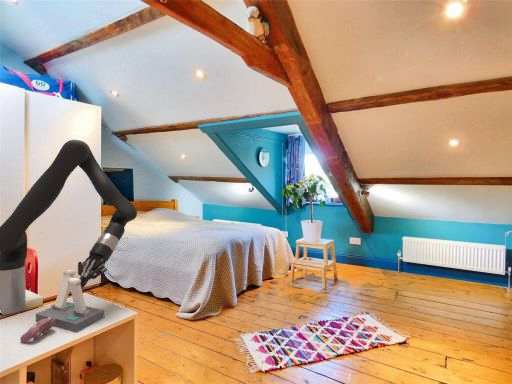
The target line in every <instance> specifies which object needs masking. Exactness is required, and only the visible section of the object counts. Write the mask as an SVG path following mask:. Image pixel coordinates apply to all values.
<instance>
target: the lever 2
mask: <svg viewBox="0 0 512 384" xmlns="http://www.w3.org/2000/svg"><path fill="white" fill-rule="evenodd" d="M80 283H81V280H80V278H77V277H73V278H72V277H71V278H69V279H68V284H69V285H70V293H71V297H72V301H73V302H72V303H74V306H75V310H76V313H80V314H84V312H86V311H87V310H86V306H87V305H86V302H85V297H84V294H83V290H82V289H81V284H80Z"/></svg>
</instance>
